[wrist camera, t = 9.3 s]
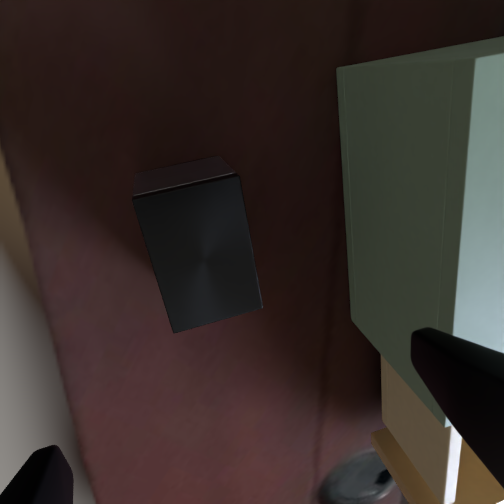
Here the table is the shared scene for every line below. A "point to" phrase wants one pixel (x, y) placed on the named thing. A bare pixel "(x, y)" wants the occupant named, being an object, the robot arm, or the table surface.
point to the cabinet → (425, 198)
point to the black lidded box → (198, 241)
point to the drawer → (428, 451)
